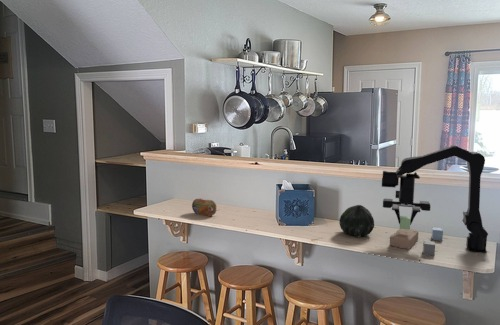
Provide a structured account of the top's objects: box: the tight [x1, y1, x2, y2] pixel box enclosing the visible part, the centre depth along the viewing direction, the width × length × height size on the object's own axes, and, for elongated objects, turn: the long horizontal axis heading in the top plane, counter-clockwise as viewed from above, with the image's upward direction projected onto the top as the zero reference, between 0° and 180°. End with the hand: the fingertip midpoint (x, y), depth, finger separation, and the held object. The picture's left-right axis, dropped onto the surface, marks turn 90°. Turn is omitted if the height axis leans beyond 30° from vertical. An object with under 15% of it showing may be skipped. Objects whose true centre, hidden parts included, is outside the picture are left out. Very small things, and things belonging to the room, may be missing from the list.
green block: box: [399, 215, 411, 229], centre depth 185 cm, size 4×4×4 cm
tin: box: [191, 198, 217, 217], centre depth 229 cm, size 15×3×8 cm, turn 55°
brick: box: [389, 228, 419, 250], centre depth 186 cm, size 17×8×5 cm, turn 146°
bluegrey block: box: [431, 227, 444, 241], centre depth 191 cm, size 4×4×4 cm
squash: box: [338, 204, 375, 238], centre depth 196 cm, size 14×15×15 cm
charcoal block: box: [422, 240, 436, 256], centre depth 173 cm, size 4×4×4 cm
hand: (404, 224), depth 185 cm, fingers closed on green block, 4 cm apart
